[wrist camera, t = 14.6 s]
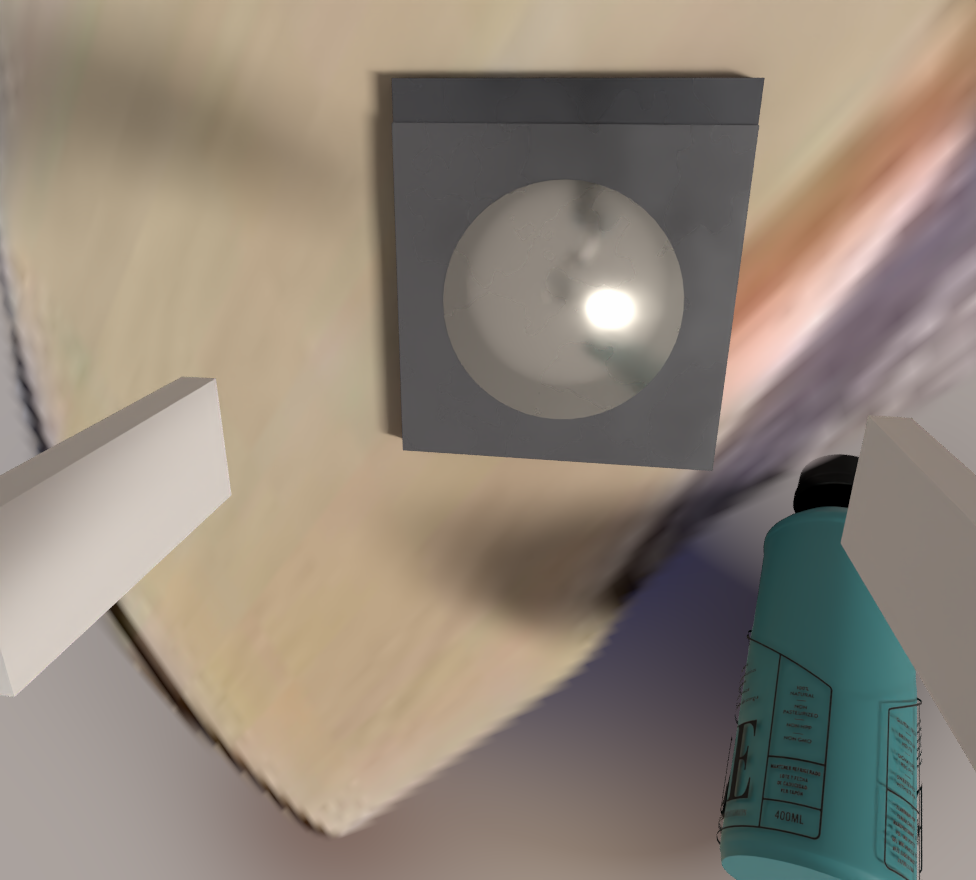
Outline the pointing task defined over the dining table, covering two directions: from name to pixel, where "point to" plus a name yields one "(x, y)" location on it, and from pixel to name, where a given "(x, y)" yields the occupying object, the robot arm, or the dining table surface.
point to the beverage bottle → (822, 711)
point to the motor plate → (569, 263)
